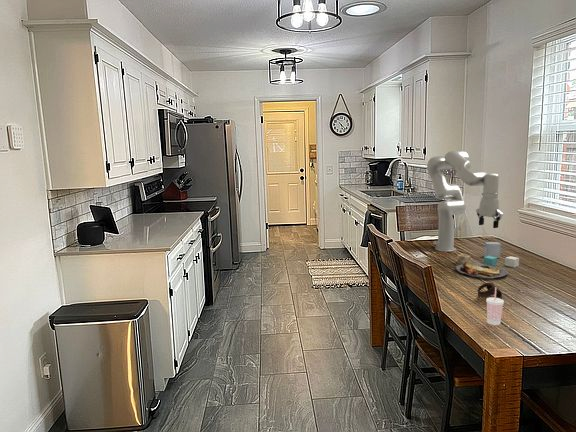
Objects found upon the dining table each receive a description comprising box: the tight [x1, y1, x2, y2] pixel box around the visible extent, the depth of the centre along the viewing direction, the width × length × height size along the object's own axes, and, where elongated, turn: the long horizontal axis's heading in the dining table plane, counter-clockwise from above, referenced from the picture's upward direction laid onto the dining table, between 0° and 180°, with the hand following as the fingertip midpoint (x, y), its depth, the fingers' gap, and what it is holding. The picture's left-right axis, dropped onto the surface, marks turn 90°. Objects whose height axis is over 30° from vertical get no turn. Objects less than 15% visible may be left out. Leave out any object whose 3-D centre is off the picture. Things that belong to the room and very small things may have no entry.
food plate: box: [454, 262, 509, 279], centre depth 227 cm, size 25×23×4 cm
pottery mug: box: [476, 282, 504, 300], centre depth 190 cm, size 12×10×8 cm
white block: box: [504, 255, 520, 268], centre depth 239 cm, size 5×5×4 cm
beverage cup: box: [486, 286, 505, 326], centre depth 164 cm, size 6×6×14 cm
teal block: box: [482, 256, 498, 267], centre depth 241 cm, size 5×5×4 cm
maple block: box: [456, 253, 471, 265], centre depth 245 cm, size 5×5×4 cm
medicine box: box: [483, 241, 502, 259], centre depth 256 cm, size 8×4×9 cm, turn 84°
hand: (488, 226), depth 242 cm, fingers open, 9 cm apart
